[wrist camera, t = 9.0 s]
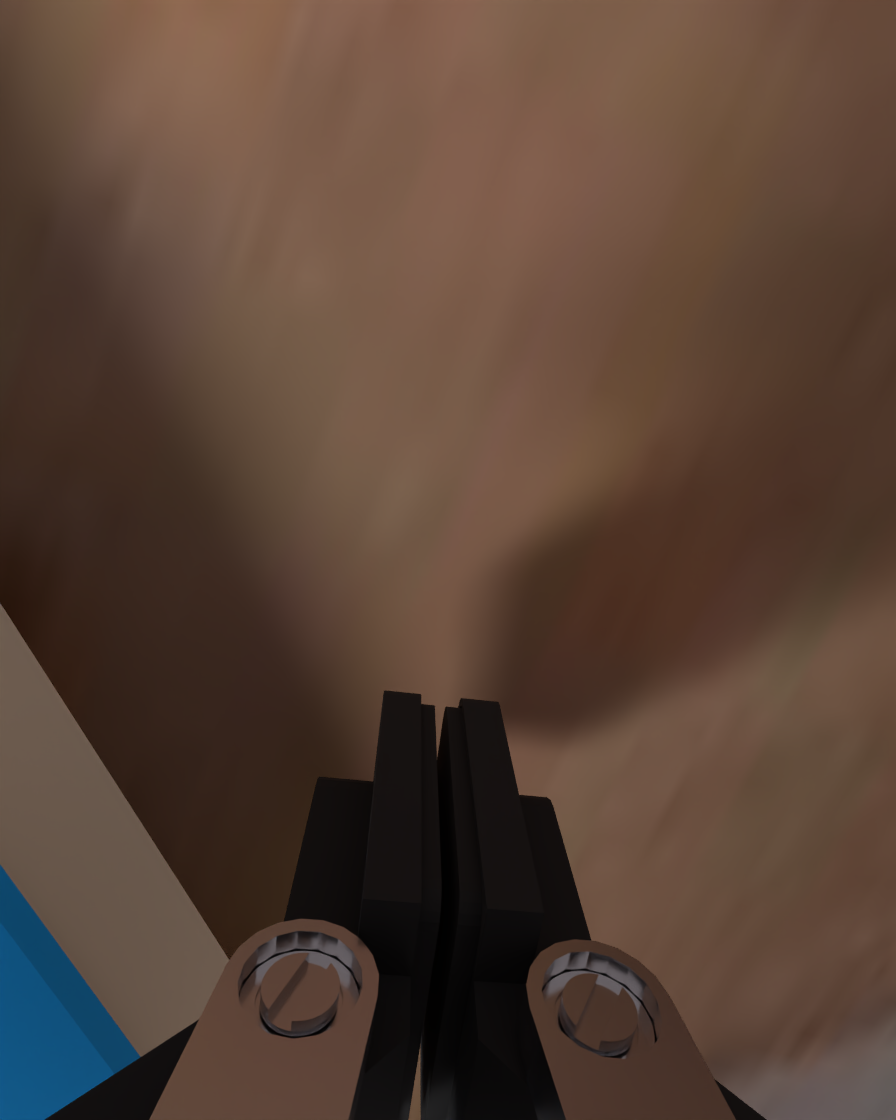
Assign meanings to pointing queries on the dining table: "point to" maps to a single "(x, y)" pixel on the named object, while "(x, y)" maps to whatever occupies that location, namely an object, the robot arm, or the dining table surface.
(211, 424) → the dining table surface
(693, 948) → the dining table surface
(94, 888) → the book
